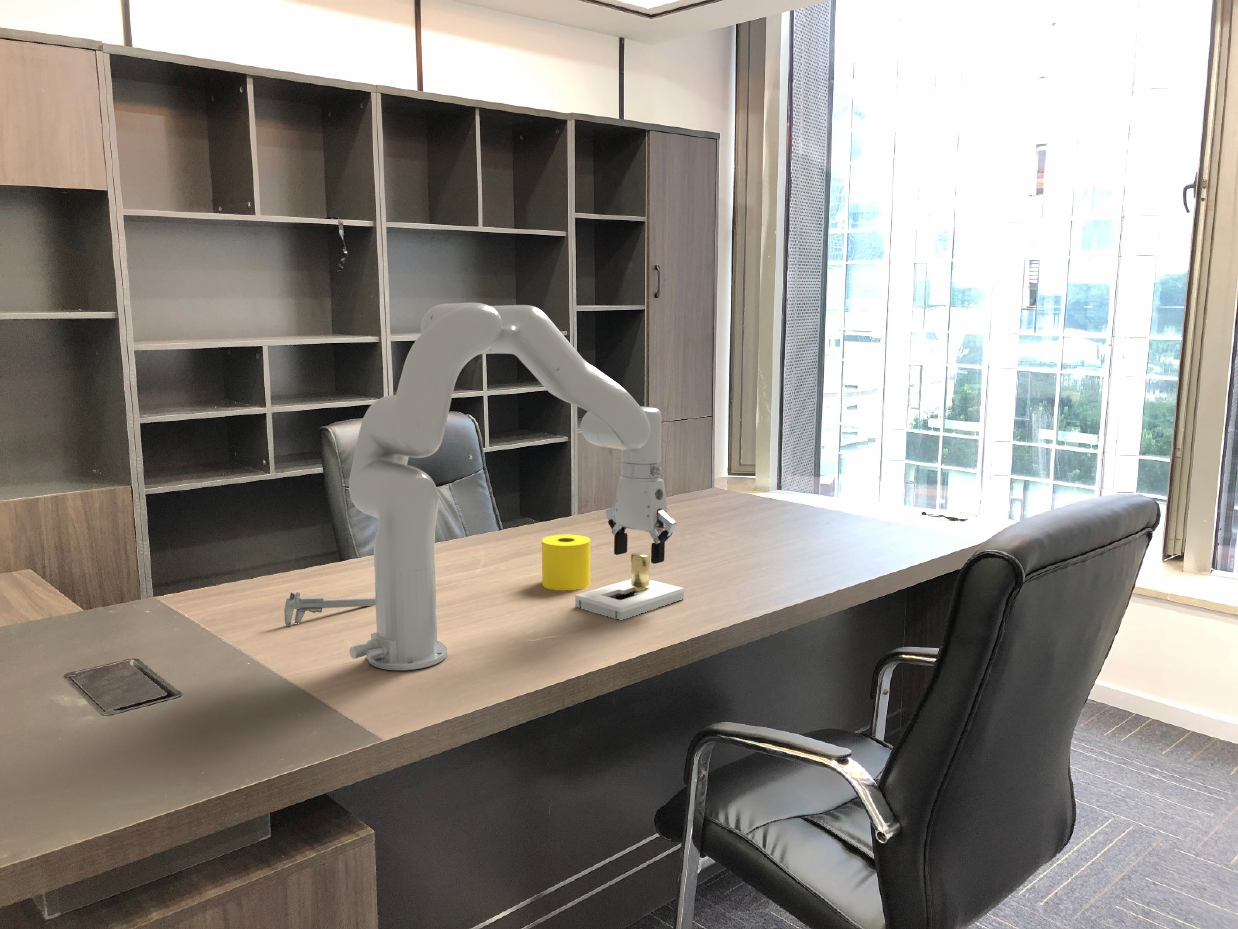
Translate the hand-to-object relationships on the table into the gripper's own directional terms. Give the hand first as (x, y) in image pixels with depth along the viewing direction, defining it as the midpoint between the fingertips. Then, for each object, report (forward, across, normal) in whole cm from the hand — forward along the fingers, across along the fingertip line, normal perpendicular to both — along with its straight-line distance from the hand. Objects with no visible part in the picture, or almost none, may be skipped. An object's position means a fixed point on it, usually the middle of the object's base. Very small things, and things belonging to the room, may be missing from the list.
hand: (638, 558), depth 185 cm
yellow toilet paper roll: (+9, +19, +1) cm, 21 cm away
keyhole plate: (+9, 0, +2) cm, 9 cm away
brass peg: (+9, 0, -1) cm, 9 cm away
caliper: (+10, +35, +45) cm, 58 cm away
